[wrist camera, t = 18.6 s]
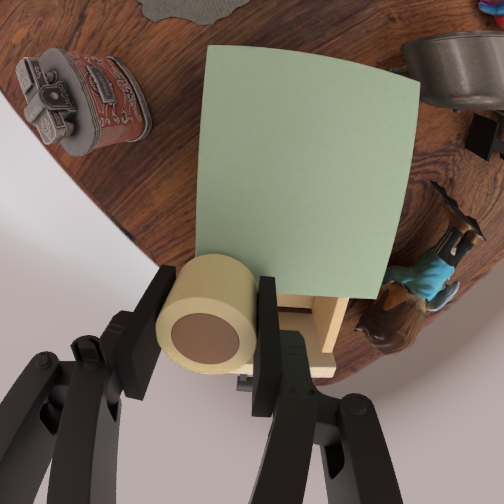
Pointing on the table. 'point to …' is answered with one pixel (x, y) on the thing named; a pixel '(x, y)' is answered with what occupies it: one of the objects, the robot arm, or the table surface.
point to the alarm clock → (457, 69)
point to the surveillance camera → (485, 137)
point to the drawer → (307, 333)
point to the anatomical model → (494, 10)
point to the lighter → (82, 100)
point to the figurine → (418, 286)
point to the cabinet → (303, 167)
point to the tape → (210, 316)
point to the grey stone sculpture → (190, 9)
